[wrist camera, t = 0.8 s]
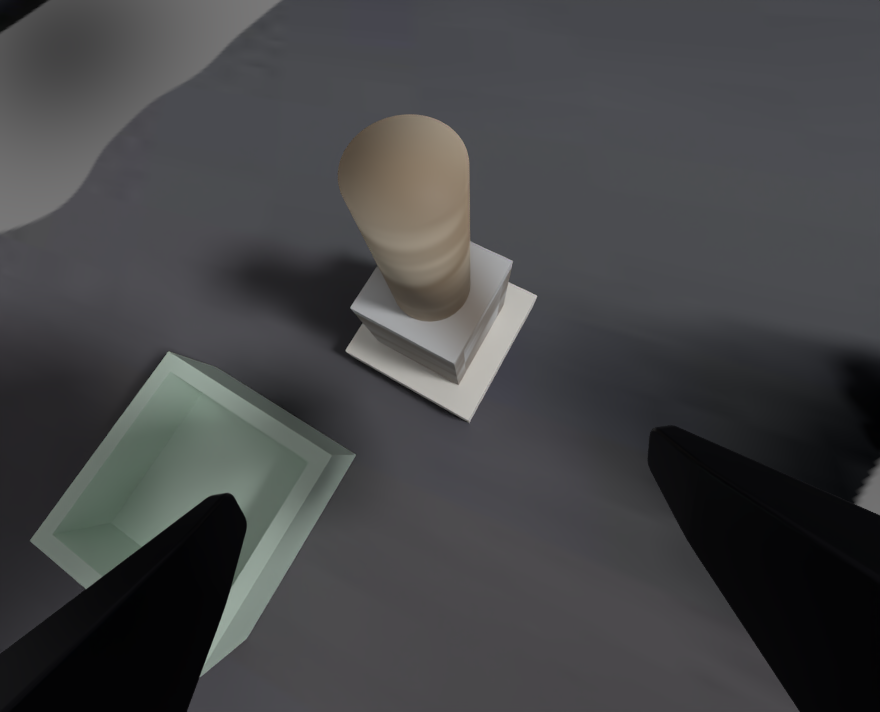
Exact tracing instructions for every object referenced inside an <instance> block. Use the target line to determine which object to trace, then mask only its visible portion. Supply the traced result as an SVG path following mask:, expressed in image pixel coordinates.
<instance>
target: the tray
mask: <svg viewBox="0 0 880 712" xmlns="http://www.w3.org/2000/svg"><path fill="white" fill-rule="evenodd" d="M355 456H356V454H354V453H353V452H351V451H350V450H348V449H346V448H345V447H343V446H342V445H340V444H338V443H337V442H335V441H334V440H332V439H330V438H329V437H327V436H326V435H324V434H322V433H321V432H319V431H318V430H316V429H314V428H313V427H311V426H310V425H308V424H306V423H305V422H303V421H302V420H300V419H298V418H297V417H295V416H294V415H292V414H290V413H289V412H287V411H286V410H284V409H283V408H281V407H279V406H278V405H276V404H275V403H273V402H271V401H270V400H268V399H267V398H265V397H263V396H262V395H260V394H259V393H257V392H255V391H254V390H252V389H251V388H249V387H247V386H246V385H244V384H243V383H241V382H239V381H238V380H236V379H235V378H233V377H231V376H230V375H228V374H227V373H225V372H223V371H222V370H220V369H219V368H217V367H215V366H212V365H209V364H205V363H202V362H199V361H196V360H193V359H190V358H187V357H184V356H181V355H178V354H175V353H172V352H169V351H168V353H167V354H166V356H165V357H164V358H163V360H162V361H161V362H160V364H159V365H158V366H157V368H156V369H155V371H154V372H153V373H152V375H151V376H150V377H149V379H148V380H147V382H146V383H145V384H144V386H143V387H142V388H141V390H140V391H139V392H138V394H137V395H136V397H135V398H134V399H133V401H132V402H131V403H130V405H129V406H128V407H127V409H126V410H125V412H124V413H123V414H122V416H121V417H120V418H119V420H118V421H117V422H116V424H115V425H114V427H113V428H112V429H111V431H110V432H109V433H108V435H107V436H106V437H105V439H104V440H103V442H102V443H101V444H100V446H99V447H98V448H97V450H96V451H95V452H94V454H93V455H92V457H91V458H90V459H89V461H88V462H87V463H86V465H85V466H84V467H83V469H82V470H81V472H80V473H79V474H78V476H77V477H76V478H75V480H74V481H73V482H72V484H71V485H70V487H69V488H68V489H67V491H66V492H65V493H64V495H63V496H62V497H61V499H60V500H59V502H58V503H57V504H56V506H55V507H54V508H53V510H52V511H51V512H50V514H49V515H48V517H47V518H46V519H45V521H44V522H43V523H42V525H41V526H40V527H39V529H38V530H37V532H36V533H35V534H34V536H33V537H32V538H31V540H30V542H32V543H33V544H34V545H35V546H36V547H37V548H39V549H40V550H41V551H42V552H43V553H44V554H46V555H47V556H48V557H49V558H50V559H51V560H53V561H54V562H55V563H56V564H57V565H58V566H60V567H61V568H62V569H63V570H64V571H65V572H67V573H68V574H69V575H70V576H71V577H72V578H74V579H75V580H76V581H77V582H78V583H79V584H81V585H82V586H83V587H84V588H85V589H87V588H88V587H89V586H91V585H92V584H93V583H95V582H96V581H97V580H99V579H100V578H101V577H103V576H104V575H105V574H107V573H108V572H109V571H111V570H112V569H113V568H115V567H116V566H117V565H119V564H120V563H121V562H122V561H124V560H125V559H126V558H128V557H129V556H130V555H132V554H133V553H134V552H136V551H137V550H138V549H140V548H141V547H142V546H144V545H145V544H146V543H148V542H149V541H150V540H152V539H153V538H154V537H156V536H157V535H158V534H159V533H161V532H162V531H163V530H165V529H166V528H167V527H169V526H170V525H171V524H173V523H174V522H175V521H177V520H178V519H179V518H181V517H182V516H183V515H185V514H186V513H187V512H189V511H190V510H191V509H193V508H194V507H195V506H196V505H198V504H199V503H200V502H202V501H203V500H204V499H206V498H207V497H209V496H211V495H215V494H222V493H230V494H232V495H233V496H234V497H235V499H236V501H237V503H238V505H239V506H240V508H241V510H242V512H243V514H244V516H245V518H246V521H247V530H246V534H245V538H244V542H243V545H242V549H241V553H240V556H239V560H238V564H237V568H236V571H235V575H234V579H233V582H232V586H231V590H230V593H229V596H228V600H227V603H226V606H225V609H224V612H223V615H222V618H221V620H220V623H219V626H218V629H217V631H216V634H215V637H214V639H213V642H212V645H211V648H210V650H209V653H208V656H207V658H206V661H205V664H204V666H203V669H202V672H201V675H200V677H201V676H202V675H203V674H205V673H206V672H207V671H208V670H210V669H211V668H212V667H213V666H214V665H216V664H217V663H218V662H219V661H220V660H222V659H223V658H224V657H225V656H226V655H228V654H229V653H230V652H231V651H232V650H234V649H235V648H236V647H237V646H238V645H240V644H241V643H242V642H243V641H245V640H246V639H247V638H248V636H249V634H250V633H251V631H252V629H253V628H254V626H255V624H256V623H257V621H258V619H259V617H260V616H261V614H262V612H263V611H264V609H265V607H266V606H267V604H268V602H269V601H270V599H271V597H272V596H273V594H274V592H275V591H276V589H277V587H278V586H279V584H280V582H281V581H282V579H283V577H284V576H285V574H286V572H287V570H288V569H289V567H290V565H291V564H292V562H293V560H294V559H295V557H296V555H297V554H298V552H299V550H300V549H301V547H302V545H303V544H304V542H305V540H306V539H307V537H308V535H309V534H310V532H311V530H312V529H313V527H314V525H315V523H316V522H317V520H318V518H319V517H320V515H321V513H322V512H323V510H324V508H325V507H326V505H327V503H328V502H329V500H330V498H331V497H332V495H333V493H334V492H335V490H336V488H337V487H338V485H339V483H340V482H341V480H342V478H343V476H344V475H345V473H346V471H347V470H348V468H349V466H350V465H351V463H352V461H353V460H354V458H355ZM200 677H199V678H200Z"/></svg>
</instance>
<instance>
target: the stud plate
mask: <svg viewBox="0 0 880 712" xmlns="http://www.w3.org/2000/svg"><path fill="white" fill-rule="evenodd" d="M536 298H537V295H534V294H532V293H530V292H528V291H526V290H524V289H522V288H520V287H517V286H515V285H513V284H511V283H509V282H508V286H507V291H506V296H505V301H504V305H503V307H502V309H501V311H500V313H499V314H498V316H497V318H496V320H495V321H494V323H493V325H492V327H491V329H490V330H489V332H488V334H487V336H486V337H485V339H484V341H483V343H482V345H481V346H480V348H479V350H478V352H477V353H476V355H475V357H474V359H473V361H472V362H471V364H470V366H469V368H468V369H467V371H466V373H465V375H464V377H463V378H462V380H461V382H460V384H459V385H457V384H456V383H454V382H452V381H450V380H448V379H446V378H445V377H443V376H441V375H439V374H437V373H435V372H434V371H432V370H430V369H428V368H426V367H425V366H423V365H421V364H419V363H417V362H415V361H414V360H412V359H410V358H408V357H406V356H404V355H403V354H401V353H399V352H397V351H395V350H393V349H392V348H390V347H388V346H386V345H384V344H382V343H381V342H379V341H378V340H377V339H376V338H375V337H374V335H373V334H372V333H371V332H370V331H369V330H368V328H367V327H366V326H365V325H364V324H363V323H362V325H361V326H360V328H359V330H358V331H357V333H356V334H355V336H354V337H353V339H352V341H351V342H350V344H349V345H348V347H347V348H346V350H345V351H346V352H347V353H348V354H350V355H351V356H352V357H353V358H355V359H357V360H359V361H361V362H362V363H364V364H366V365H368V366H369V367H371V368H373V369H375V370H376V371H378V372H380V373H382V374H384V375H385V376H387V377H389V378H391V379H392V380H394V381H396V382H398V383H399V384H401V385H403V386H405V387H406V388H408V389H410V390H412V391H414V392H415V393H417V394H419V395H421V396H422V397H424V398H426V399H428V400H429V401H431V402H433V403H435V404H436V405H438V406H440V407H442V408H444V409H445V410H447V411H449V412H451V413H452V414H454V415H456V416H458V417H459V418H461V419H463V420H465V421H466V422H468V423H469V422H470V421H471V419H472V417H473V415H474V413H475V411H476V410H477V408H478V406H479V404H480V402H481V400H482V399H483V397H484V395H485V393H486V391H487V389H488V388H489V386H490V384H491V382H492V380H493V378H494V377H495V375H496V373H497V371H498V369H499V367H500V366H501V364H502V362H503V360H504V358H505V356H506V355H507V353H508V351H509V349H510V347H511V345H512V344H513V342H514V340H515V338H516V336H517V334H518V333H519V331H520V329H521V327H522V325H523V324H524V322H525V320H526V318H527V316H528V314H529V313H530V311H531V309H532V307H533V305H534V303H535V300H536Z"/></svg>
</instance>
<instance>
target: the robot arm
mask: <svg viewBox="0 0 880 712" xmlns="http://www.w3.org/2000/svg"><path fill="white" fill-rule="evenodd" d="M648 465H649V468H650V471H651V473H652V474H653V476H654V478H655V480H656V482H657V484H658V486H659V488H660V490H661V492H662V494H663V496H664V497H665V499H666V501H667V503H668V505H669V507H670V509H671V511H672V513H673V515H674V517H675V518H676V520H677V522H678V524H679V526H680V528H681V530H682V532H683V533H684V535H685V537H686V539H687V541H688V542H689V544H690V545H691V547H692V548H693V550H694V552H695V553H696V555H697V556H698V558H699V559H700V561H701V562H702V564H703V565H704V567H705V568H706V570H707V571H708V573H709V574H710V576H711V578H712V579H713V581H714V582H715V584H716V585H717V587H718V588H719V590H720V591H721V593H722V594H723V596H724V597H725V599H726V600H727V602H728V603H729V605H730V606H731V608H732V609H733V611H734V612H735V614H736V616H737V617H738V619H739V620H740V622H741V623H742V625H743V626H744V628H745V629H746V631H747V632H748V634H749V635H750V637H751V638H752V640H753V641H754V643H755V644H756V646H757V647H758V649H759V650H760V652H761V654H762V655H763V657H764V658H765V660H766V661H767V663H768V664H769V666H770V667H771V669H772V670H773V672H774V673H775V675H776V676H777V678H778V679H779V681H780V682H781V684H782V685H783V687H784V688H785V690H786V692H787V693H788V695H789V696H790V698H791V699H792V701H793V702H794V704H795V705H796V707H797V708H798V710H799V711H800V712H880V515H878V514H876V513H873V512H871V511H869V510H867V509H864V508H862V507H860V506H857V505H855V504H853V503H850V502H848V501H846V500H844V499H841V498H839V497H837V496H834V495H832V494H830V493H828V492H825V491H823V490H821V489H818V488H816V487H814V486H812V485H809V484H807V483H805V482H802V481H800V480H798V479H796V478H793V477H791V476H789V475H786V474H784V473H782V472H779V471H777V470H775V469H773V468H770V467H768V466H766V465H763V464H761V463H759V462H757V461H754V460H752V459H750V458H747V457H745V456H743V455H741V454H738V453H736V452H734V451H731V450H729V449H727V448H725V447H722V446H720V445H718V444H715V443H713V442H711V441H708V440H706V439H704V438H702V437H699V436H697V435H695V434H692V433H690V432H688V431H686V430H683V429H681V428H679V427H676V426H673V425H669V426H662V427H656V428H653V429H652V430H651V432H650V437H649V448H648ZM246 530H247V521H246V518H245V516H244V514H243V512H242V510H241V508H240V506H239V505H238V503H237V501H236V499H235V497H234V496H233V495H232V494H230V493H222V494H215V495H211V496H209V497H207V498H206V499H204V500H203V501H202V502H200V503H199V504H198V505H196V506H195V507H194V508H193V509H191V510H190V511H189V512H187V513H186V514H185V515H183V516H182V517H181V518H179V519H178V520H177V521H175V522H174V523H173V524H171V525H170V526H169V527H167V528H166V529H165V530H163V531H162V532H161V533H159V534H158V535H157V536H156V537H154V538H153V539H152V540H150V541H149V542H148V543H146V544H145V545H144V546H142V547H141V548H140V549H138V550H137V551H136V552H134V553H133V554H132V555H130V556H129V557H128V558H126V559H125V560H124V561H122V562H121V563H120V564H119V565H117V566H116V567H115V568H113V569H112V570H111V571H109V572H108V573H107V574H105V575H104V576H103V577H101V578H100V579H99V580H97V581H96V582H95V583H93V584H92V585H91V586H89V587H88V588H87V589H86V590H84V591H83V592H82V593H80V594H79V595H78V596H76V597H75V598H74V599H72V600H71V601H70V602H68V603H67V604H66V605H64V606H63V607H62V608H60V609H59V610H58V611H56V612H55V613H54V614H52V615H51V616H50V617H49V618H47V619H46V620H45V621H43V622H42V623H41V624H39V625H38V626H37V627H35V628H34V629H33V630H31V631H30V632H29V633H27V634H26V635H25V636H23V637H22V638H21V639H19V640H18V641H17V642H15V643H14V644H13V645H12V646H10V647H9V648H8V649H6V650H5V651H4V652H2V653H1V654H0V712H187V710H188V707H189V704H190V702H191V699H192V696H193V693H194V691H195V688H196V685H197V683H198V680H199V677H200V675H201V672H202V669H203V666H204V664H205V661H206V658H207V656H208V653H209V650H210V648H211V645H212V642H213V639H214V637H215V634H216V631H217V629H218V626H219V623H220V620H221V618H222V615H223V612H224V609H225V606H226V603H227V600H228V596H229V593H230V590H231V586H232V582H233V579H234V575H235V571H236V568H237V564H238V560H239V556H240V553H241V549H242V545H243V542H244V538H245V534H246Z"/></svg>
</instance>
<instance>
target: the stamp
mask: <svg viewBox="0 0 880 712" xmlns="http://www.w3.org/2000/svg"><path fill="white" fill-rule="evenodd" d="M338 184H339V188H340V192H341V194H342V196H343V198H344V200H345V202H346V204H347V206H348V208H349V210H350V212H351V214H352V216H353V218H354V220H355V222H356V224H357V226H358V228H359V230H360V232H361V234H362V236H363V238H364V240H365V242H366V244H367V246H368V248H369V249H370V251H371V253H372V255H373V257H374V259H375V261H376V263H377V265H378V266H377V267H376V269H375V270H374V272H373V273H372V275H371V276H370V278H369V279H368V281H367V283H366V284H365V286H364V287H363V289H362V290H361V292H360V293H359V295H358V296H357V298H356V300H355V301H354V303H353V304H352V306H351V307H350V308H351V310H352V311H353V312H354V313H355V314H356V315H357V317H358V318H359V319H360V320H361V321H362V323H363V324H364V325H365V326H366V327H367V328H368V330H369V331H370V332H371V333H372V334H373V335H374V337H375V338H376V339H377V340H378V341H379V342H381V343H382V344H384V345H386V346H388V347H390V348H392V349H393V350H395V351H397V352H399V353H401V354H403V355H404V356H406V357H408V358H410V359H412V360H414V361H415V362H417V363H419V364H421V365H423V366H425V367H426V368H428V369H430V370H432V371H434V372H435V373H437V374H439V375H441V376H443V377H445V378H446V379H448V380H450V381H452V382H454V383H456V384H457V385H459V384H460V382H461V380H462V378H463V377H464V375H465V373H466V371H467V369H468V368H469V366H470V364H471V362H472V361H473V359H474V357H475V355H476V353H477V352H478V350H479V348H480V346H481V345H482V343H483V341H484V339H485V337H486V336H487V334H488V332H489V330H490V329H491V327H492V325H493V323H494V321H495V320H496V318H497V316H498V314H499V313H500V311H501V309H502V307H503V305H504V301H505V296H506V291H507V286H508V282H509V277H510V272H511V268H512V263H513V261H512V260H509V259H507V258H505V257H503V256H501V255H499V254H496V253H494V252H492V251H490V250H488V249H485V248H483V247H481V246H479V245H477V244H475V243H472V242H470V192H469V157H468V153H467V150H466V147H465V145H464V143H463V141H462V140H461V138H460V137H459V136H458V135H457V133H456V132H455V131H454V130H452V129H451V128H450V127H449V126H447V125H446V124H444V123H443V122H441V121H438V120H436V119H434V118H430V117H427V116H422V115H413V114H411V115H398V116H393V117H388V118H385V119H382V120H380V121H378V122H375V123H373V124H372V125H370V126H368V127H367V128H365V129H364V130H362V131H361V132H360V133H359V134H358V135H357V136H356V137H355V138H354V139H353V140H352V141H351V142H350V143H349V145H348V146H347V148H346V149H345V151H344V153H343V155H342V157H341V160H340V164H339V169H338Z"/></svg>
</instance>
